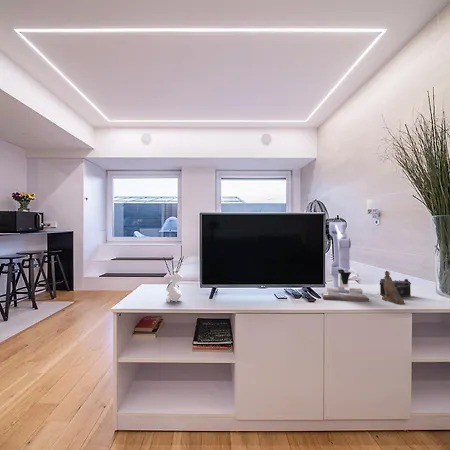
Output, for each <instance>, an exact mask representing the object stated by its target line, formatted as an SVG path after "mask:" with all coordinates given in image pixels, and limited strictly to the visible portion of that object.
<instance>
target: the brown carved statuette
mask: <svg viewBox="0 0 450 450" xmlns="http://www.w3.org/2000/svg"><path fill="white" fill-rule="evenodd" d="M384 275H385V276H384V278H383V279H385V283H384V290H385V294H386V296H381V300H383V301H387V302H389V303H392V304H394V305H395V304H396V305H404V304H405V300H404V299H403V297H402V296H400V295H399V293H398V291H397V289H396V287H395V285H394V284H393V281H394V280H393V279H392V277H391V276H390V271H388V270H386V271H385V272H384Z"/></svg>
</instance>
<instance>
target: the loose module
mask: <svg viewBox="0 0 450 450" xmlns="http://www.w3.org/2000/svg"><path fill="white" fill-rule="evenodd" d="M338 286H339V287H345V288H347V289H349V282H348V283H347V284H343V282H342V276H341V274H338Z"/></svg>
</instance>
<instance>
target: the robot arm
mask: <svg viewBox="0 0 450 450" xmlns="http://www.w3.org/2000/svg"><path fill="white" fill-rule="evenodd" d="M328 228H329V229H328V231H329V235H330V236H331V237H332V239H333V241H332V242H333V254H334V255H333V257H334V258H333V259H334V261H332V262H331V263H330V265H329V274H330V276H331V278H332V281H331V282H332V287H338V289H339V293H340V292H341V293H342V292H343V293H344V292H345V293H347V290H346V289H345V288H346V287H339V286H338V274H341V276H342V282H343V284H347V283H348V284H349V278H350V275H351V273H352V272H351V271H349V270H350V269H351V267H350V249H351V245H352V244H351V243H352V242H351V238H349V237H348V235H347V233H346V231H347V223H346V222H345V221H329V224H328Z"/></svg>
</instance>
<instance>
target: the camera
mask: <svg viewBox="0 0 450 450" xmlns="http://www.w3.org/2000/svg"><path fill="white" fill-rule="evenodd" d="M392 281H393V284H394V285H395V287H396V289H397V291H398V293H399V295H400V296H401V297H411V285H412V283H411V281H409V279H408V278H404V280H399V279H398V280H396V279H395V280H392ZM384 283H385V279H384V278H380V280H379V285H380V286H379V288H380V289H379V291H380V293H379V294H380V296H381V297H383V296H386V294H385V290H384Z"/></svg>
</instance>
